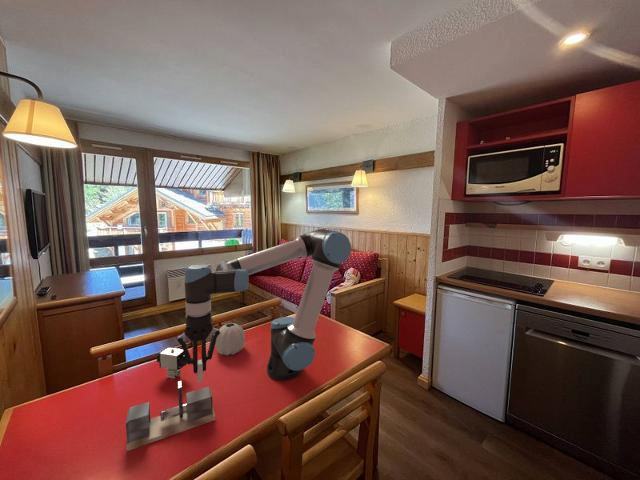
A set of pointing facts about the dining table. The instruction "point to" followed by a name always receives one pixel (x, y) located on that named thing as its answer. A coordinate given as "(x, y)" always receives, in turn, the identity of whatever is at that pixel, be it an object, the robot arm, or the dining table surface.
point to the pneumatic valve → (172, 361)
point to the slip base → (154, 429)
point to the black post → (175, 410)
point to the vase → (230, 339)
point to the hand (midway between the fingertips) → (200, 380)
